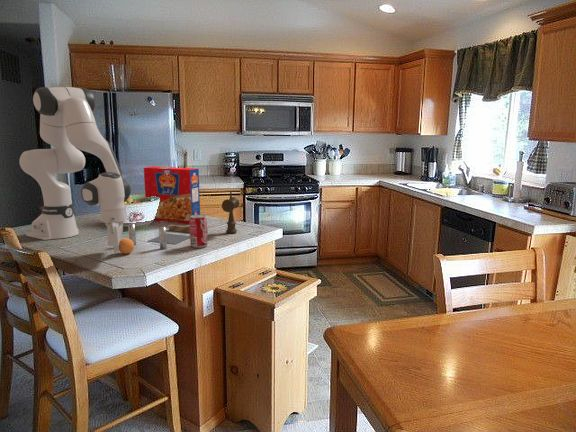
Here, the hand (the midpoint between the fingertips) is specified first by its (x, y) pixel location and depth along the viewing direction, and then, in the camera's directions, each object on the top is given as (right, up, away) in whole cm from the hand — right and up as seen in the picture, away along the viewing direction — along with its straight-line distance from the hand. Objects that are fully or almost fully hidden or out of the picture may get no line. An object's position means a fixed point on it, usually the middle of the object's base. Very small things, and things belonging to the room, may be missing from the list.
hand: (116, 251), depth 162 cm
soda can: (+28, +1, +15) cm, 32 cm away
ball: (+2, +2, +4) cm, 5 cm away
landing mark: (+13, +3, +26) cm, 30 cm away
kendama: (+39, +5, +39) cm, 55 cm away
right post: (+14, 0, +11) cm, 18 cm away
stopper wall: (+18, +6, +39) cm, 44 cm away
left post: (0, +1, +16) cm, 16 cm away
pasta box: (+5, +11, +63) cm, 64 cm away
